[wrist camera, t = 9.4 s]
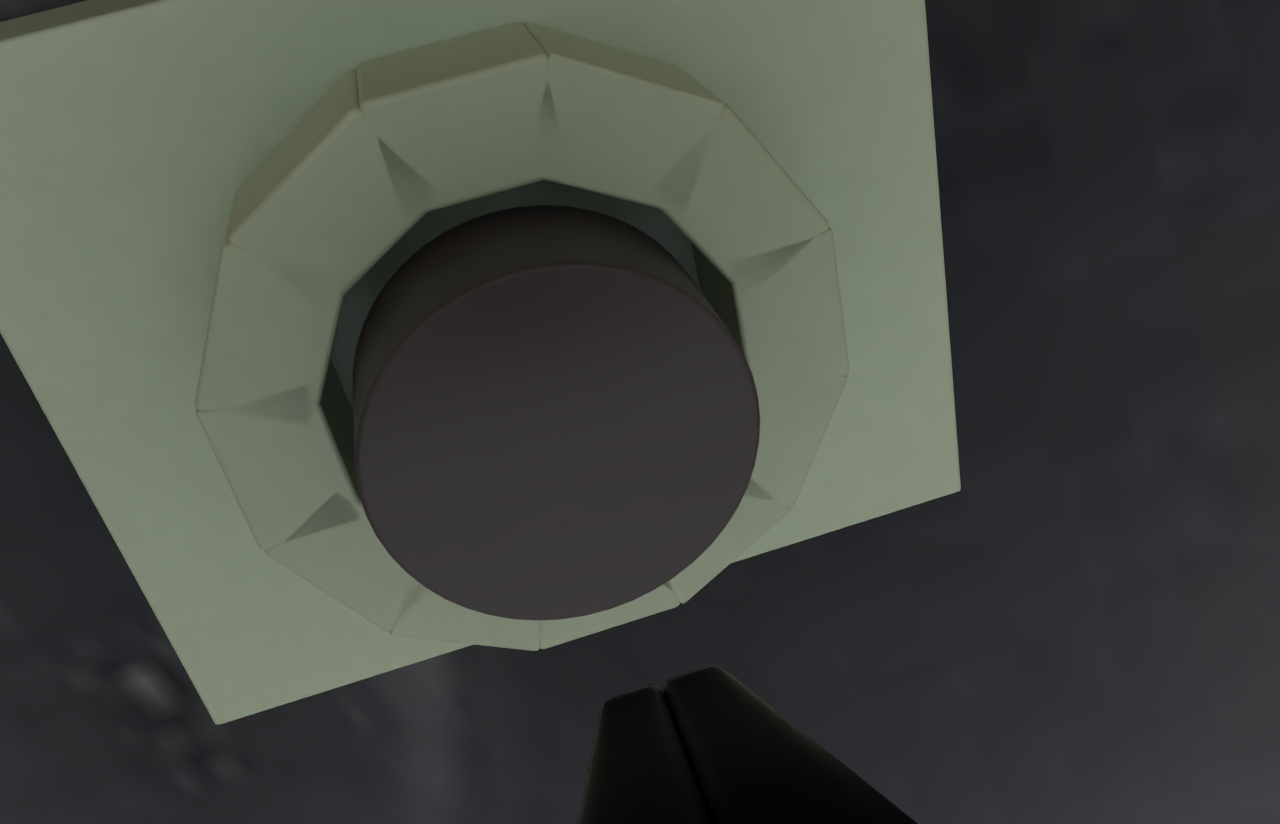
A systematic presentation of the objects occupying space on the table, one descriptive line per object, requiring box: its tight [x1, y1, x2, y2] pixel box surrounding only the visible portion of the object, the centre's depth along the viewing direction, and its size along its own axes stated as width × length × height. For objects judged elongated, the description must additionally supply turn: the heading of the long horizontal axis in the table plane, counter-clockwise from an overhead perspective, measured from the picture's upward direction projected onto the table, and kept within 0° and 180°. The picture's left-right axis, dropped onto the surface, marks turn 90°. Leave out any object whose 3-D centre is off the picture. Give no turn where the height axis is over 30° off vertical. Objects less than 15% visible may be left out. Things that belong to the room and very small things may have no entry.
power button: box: [353, 205, 760, 621], centre depth 12 cm, size 4×4×2 cm
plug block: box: [0, 0, 961, 725], centre depth 14 cm, size 11×9×4 cm
